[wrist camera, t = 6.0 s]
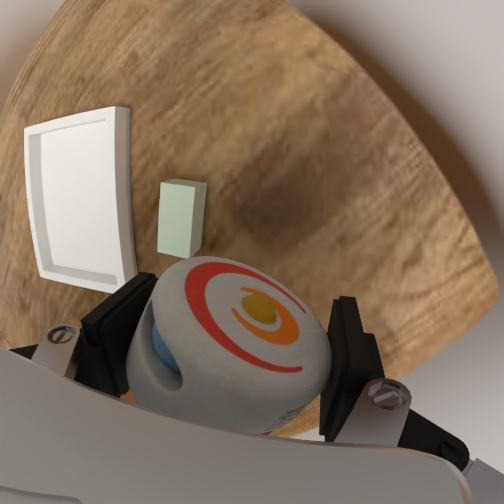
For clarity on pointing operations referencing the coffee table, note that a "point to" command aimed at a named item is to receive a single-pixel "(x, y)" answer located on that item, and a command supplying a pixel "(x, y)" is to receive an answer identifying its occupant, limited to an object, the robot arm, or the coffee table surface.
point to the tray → (82, 198)
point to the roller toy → (227, 348)
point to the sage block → (181, 217)
